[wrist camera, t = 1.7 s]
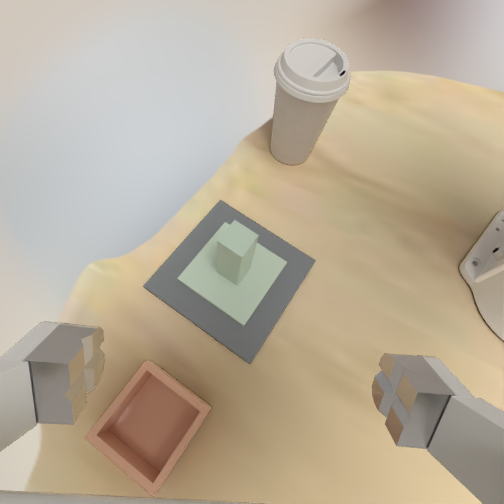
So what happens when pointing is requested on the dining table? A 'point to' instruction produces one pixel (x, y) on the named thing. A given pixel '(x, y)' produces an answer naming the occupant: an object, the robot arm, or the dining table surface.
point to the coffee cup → (305, 96)
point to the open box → (149, 426)
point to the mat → (208, 316)
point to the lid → (233, 271)
